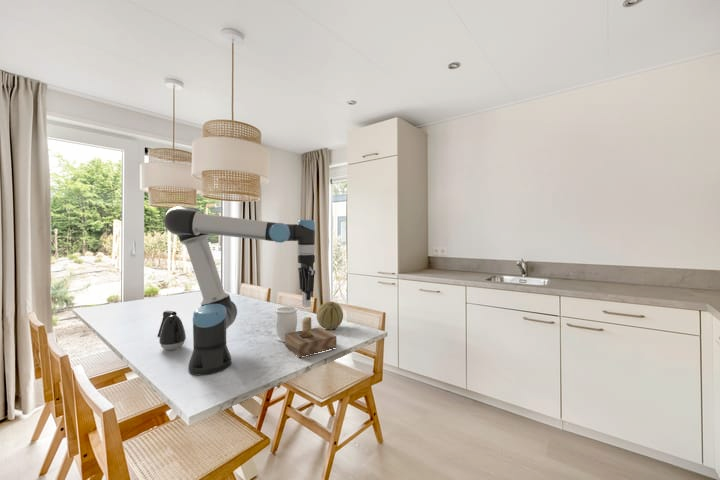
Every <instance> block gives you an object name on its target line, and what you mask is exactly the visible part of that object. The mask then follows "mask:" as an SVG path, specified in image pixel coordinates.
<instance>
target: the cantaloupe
mask: <svg viewBox="0 0 720 480" xmlns="http://www.w3.org/2000/svg"><path fill="white" fill-rule="evenodd" d="M343 319H344V311H343V309H342V306H340V304H339V303H337V302H335V301H326V302H324V303H322V304H320V306H319V307H318V309H317V311H316V321H317V323H318V325H319V327H321V328H323V329H325V330H333V329H337V328H338V327H339V326H340V325H341V324H342V322H343Z"/></svg>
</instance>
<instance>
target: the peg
mask: <svg viewBox="0 0 720 480" xmlns="http://www.w3.org/2000/svg"><path fill="white" fill-rule="evenodd" d="M301 323H302V326H301V328H302V329H301V331H302V338H303V339H304V338H309V337H312V335H311V329H312V317H307V316H305V317H302V320H301Z"/></svg>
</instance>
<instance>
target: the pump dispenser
mask: <svg viewBox="0 0 720 480" xmlns="http://www.w3.org/2000/svg"><path fill="white" fill-rule="evenodd" d="M186 339H187V336H186V331H185V326H184V324H183V322H182V319H181V318H180V316H178V315H171V316H169V317H167V318H166V320H165V322H164V324H163V327H162V330H161V334H160V337H159V344H160V347H161V348H162V349H163V350H165V351H167V352H168V351H175V350H179V349H180V348H182V347H183V346H184V344H185V341H186Z"/></svg>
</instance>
